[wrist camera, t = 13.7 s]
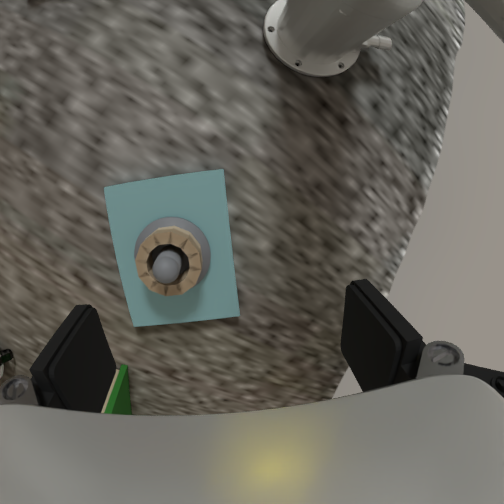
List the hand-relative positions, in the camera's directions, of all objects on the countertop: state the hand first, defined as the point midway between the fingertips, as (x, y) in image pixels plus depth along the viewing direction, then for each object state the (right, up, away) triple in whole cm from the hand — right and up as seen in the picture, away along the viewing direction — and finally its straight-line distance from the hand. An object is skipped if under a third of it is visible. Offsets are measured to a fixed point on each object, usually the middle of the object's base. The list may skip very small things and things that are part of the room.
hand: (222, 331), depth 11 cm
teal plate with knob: (-8, +3, +26) cm, 27 cm away
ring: (-8, +2, +24) cm, 25 cm away
